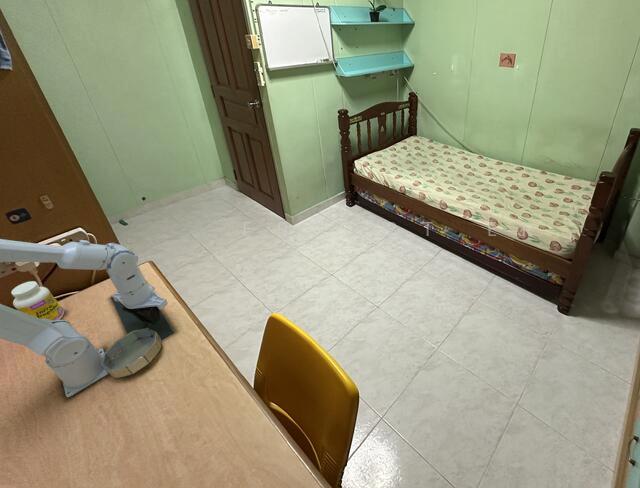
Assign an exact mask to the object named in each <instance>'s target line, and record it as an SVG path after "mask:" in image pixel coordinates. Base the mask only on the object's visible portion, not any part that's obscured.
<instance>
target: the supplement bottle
mask: <svg viewBox="0 0 640 488" xmlns="http://www.w3.org/2000/svg"><path fill="white" fill-rule="evenodd" d="M10 293H11V295H12V297H14V299H13V301H12V306H13V307H14V309H15V310H18V311H20V312H23V313H26V314H28V315H31V316H34V317H36V318H39V319H44V318H46V319H49V320H62V318H63V316H64V314H65V310H64V309H63V308H62V306H61V305H60V303H59V301H57V299H56V298H55V297H54V295H53V293H52V292H51V291H50V290H49V288H47V287H46V286H40V284H38V282H37V281H35V280H32V281H31V280H30V281H26V282H23V283H21V284H18V285H17V286H15V287H14V288H13V289H12V290H11V292H10Z"/></svg>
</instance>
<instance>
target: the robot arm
mask: <svg viewBox="0 0 640 488" xmlns="http://www.w3.org/2000/svg"><path fill="white" fill-rule="evenodd" d="M138 261H139V256H138V254H135V252H133V251H132V250H130V249H128V248H127V247H125V246H123V245H121V244H119V243H116V242H109V243H106V244H98V243H91V242H90V241H88V240H87V239H80V240H79V242H78V241H77V242H76V241H70V242H67V243H65V244H63V245H61V246H59V245H51V244H43V243H36V242H27V241H19V240H11V239H10V240H9V239H3V238H0V264H2V263H55V264H57V266H58V267H59V268H60V269H62V270H63V269H64V270H84V271H85V270H86V271H102V270H105V271H106V273H107V274H108V276H109V280H110V281H111V283H112V284H113V286H114V288H115V289H116V291H117V292H115V293H114V294H112V295H111V297H113V298H114V300H115V301H120V302H121V303H122V304H123V305H124V307H123V308H122V310H123V311H126V312H128V313H130V314H132V315H134V316H135V317H136V318H138V319H139V320H140V321H142V322H144V321H145V319H147V320H148V321H149V322H150V323H151V324H155V323H156V322H157V321H158V320H159V319H160V312H159V310H161V311H162V310H163V309H164V308H165V307H167V305H169V304H168V301H167V299H166V298H163V297H161V296H160V295H159V294H157V293H156V292H155V289H156V288H155V286H153V285H149V283H148V282H147V280H146V278H145V275H144V274H143V272H142V271H141V268H140V266H139V265H138ZM0 339H1V340H4V341H7V342H11V343H14V344H17V345H20V346H24V347H26V348H28V349H30V350H31V351H32V352H33V353H36V354H37V355H39V356H42V357H44V358H45V361H44V362H45V364H46V365H47V366H48V367H49V368H50V370H51V371H52V372H53V373H54V374H55V375H56V377H58V378H59V379H60V381H62V384H63V390H64V393H65V397H66V398H70V397H72V396H74V395H76V394H78V393H79V392H80V391H82V390H84V389H86V388H87V387H89V386H91V385H92V384H94V383H95V382H97V381H99V380H101V379H102V378H104V377H105V376H108V375H109V374H108V373H107V372H106V371H105V370H104V368H103V367H102V366H101V363H102V359H103V355H104V354H105V350H104V348H103V347H100V348H99V349H97V348H96V347H95V345H94V344H93V343H92V342H91V340H90V338H89V337H88V336H86V335H84V334H81V333H80V331H78V330H77V329H76V328H75V327H74V326H73V325H72V323H71V322H70V321H68V320H65V319H60V320H49V319H46V318H44V319H39V318H36V317H34V316H31V315H28V314H26V313H23V312H20V311H18V310H17V309H16V308H12V307H10V306H7V305H5V304H2V303H0Z"/></svg>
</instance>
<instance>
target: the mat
mask: <svg viewBox="0 0 640 488" xmlns="http://www.w3.org/2000/svg"><path fill="white" fill-rule="evenodd" d="M110 299H111V301H112V304H113V305H114V307H115V310H116V312H117V314H118V316H119V318H120V321H121V323H122V325H123V328H124V329H125V332H126V335H127V334H128V333H130V332H132V331H135V330H140V328H141V326H142V324H143V323H144V322H142V321H140V320H139V319H138V318H136V317H135V316H134V315H132V314H130V313H128V312H126V311H123V310H122V308H123V307H124V305H123V304H122V303H121V302H120V301H115V300H114V298H113V297H112V296H110ZM159 312H160V319H159V320H158V321H157V322H156V323H155V324H151V323H150V322H149V324H148V326H147V327H146V328H149V329H151V330H153V331H155V332H156V333H157V334H158V336H159V337H160V338H161V341H163V340H164V339H166V338H167V337H169V336H171V335H173V334H174V333H175V332H174V330H173V328H172V327H171V326H170V323H169V322H168V321H167V319H166V317H165V315H164V313H163V312H162V310H159ZM150 337H152V336H150ZM146 338H147V337H146ZM153 338H154V337H153ZM141 339H142V338H141ZM138 340H139V339H138ZM136 341H137V340H136ZM134 342H135V341H134Z"/></svg>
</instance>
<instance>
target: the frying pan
mask: <svg viewBox="0 0 640 488" xmlns="http://www.w3.org/2000/svg"><path fill="white" fill-rule="evenodd" d="M148 324H149V321H148V320H147V319H145V321H144V323H143V324H142V326H141V328H140V330H135V331H132V332H130V333H128V334H127V333H126V334H125V335H123V336H121V337H120V338H118V339H116V340H115V341H114V342H113V343H112V344H111V345H110V346H109V347H108V349H107V350H106V351H104V353H105V354H104V355H103V359H102V363H101V366H102V367H103V368H104V370H105V371H106V372H107V373H108V374H107V375H110V376H111V377H113V378H115V379H118V378H123V377H128V376H131V375H134V374H135V373H137V372H138V371H140V370H141V369H143V368H145V367H146V366H148V365H149V363H151V362H152V361H153V359H155V357H156V356H157V354H158V353H160V350H161V345H162V340H161V338H160V337H159V336H158V334H157V333H156V332H155V331H153V330H151V329H149V328H146V327H147V326H148ZM150 336H152V337H150ZM146 337H147V338H146ZM153 337H154V338H153ZM141 338H142V339H141ZM138 339H139V340H138ZM136 340H137V341H136ZM134 341H135V342H134Z"/></svg>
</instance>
